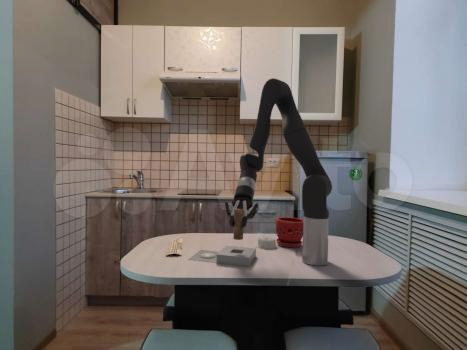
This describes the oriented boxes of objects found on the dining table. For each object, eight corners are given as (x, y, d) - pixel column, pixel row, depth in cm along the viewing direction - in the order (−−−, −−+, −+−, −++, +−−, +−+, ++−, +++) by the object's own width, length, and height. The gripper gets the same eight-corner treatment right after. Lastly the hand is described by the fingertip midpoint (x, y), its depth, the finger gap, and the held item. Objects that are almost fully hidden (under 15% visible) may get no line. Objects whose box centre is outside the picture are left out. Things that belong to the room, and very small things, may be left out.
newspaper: (170, 242, 137) (170, 238, 137) (185, 241, 138) (185, 238, 138) (165, 258, 114) (166, 253, 114) (184, 257, 115) (184, 253, 115)
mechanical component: (260, 244, 136) (251, 249, 127) (260, 234, 135) (251, 239, 127) (280, 247, 131) (273, 253, 122) (281, 237, 131) (273, 242, 122)
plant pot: (298, 250, 126) (299, 223, 125) (270, 245, 133) (271, 219, 132) (308, 244, 137) (308, 218, 137) (281, 239, 144) (282, 215, 143)
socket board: (255, 258, 114) (256, 248, 114) (248, 269, 102) (249, 258, 102) (200, 252, 120) (201, 242, 120) (187, 262, 108) (187, 251, 108)
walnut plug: (244, 237, 110) (244, 208, 110) (241, 240, 107) (242, 210, 107) (234, 237, 111) (235, 208, 111) (232, 239, 108) (232, 209, 108)
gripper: (226, 183, 118) (216, 219, 106) (261, 184, 114) (254, 221, 102) (230, 195, 123) (221, 230, 112) (263, 197, 119) (257, 233, 108)
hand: (237, 226), depth 107 cm, fingers closed on walnut plug, 3 cm apart
